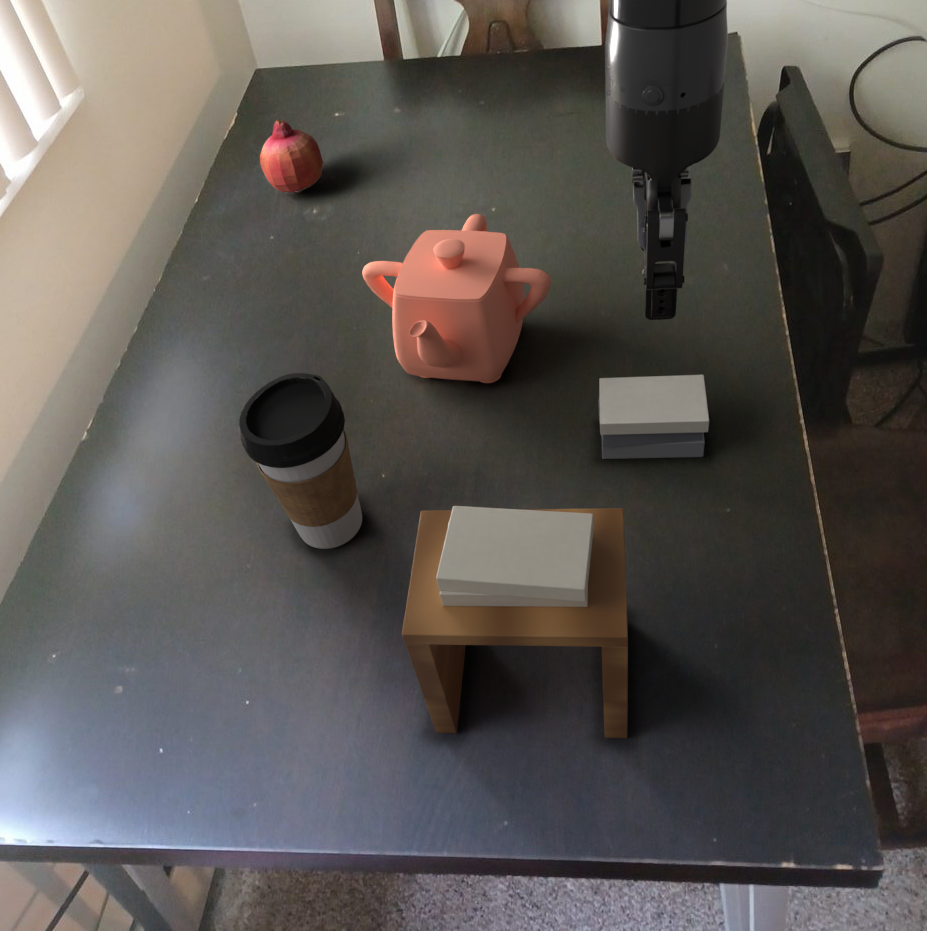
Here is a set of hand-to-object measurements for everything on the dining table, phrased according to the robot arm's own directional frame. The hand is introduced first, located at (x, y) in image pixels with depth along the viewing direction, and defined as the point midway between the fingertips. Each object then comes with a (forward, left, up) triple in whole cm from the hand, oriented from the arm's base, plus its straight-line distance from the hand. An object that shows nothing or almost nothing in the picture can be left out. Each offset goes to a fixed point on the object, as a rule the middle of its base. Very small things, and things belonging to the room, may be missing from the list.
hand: (657, 281), depth 70 cm
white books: (-14, +22, -4) cm, 26 cm away
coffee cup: (+9, +29, -18) cm, 36 cm away
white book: (0, 0, -14) cm, 14 cm away
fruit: (+64, +9, -18) cm, 67 cm away
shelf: (-14, +22, -18) cm, 32 cm away
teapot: (+21, +8, -18) cm, 29 cm away
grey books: (0, 0, -18) cm, 18 cm away
